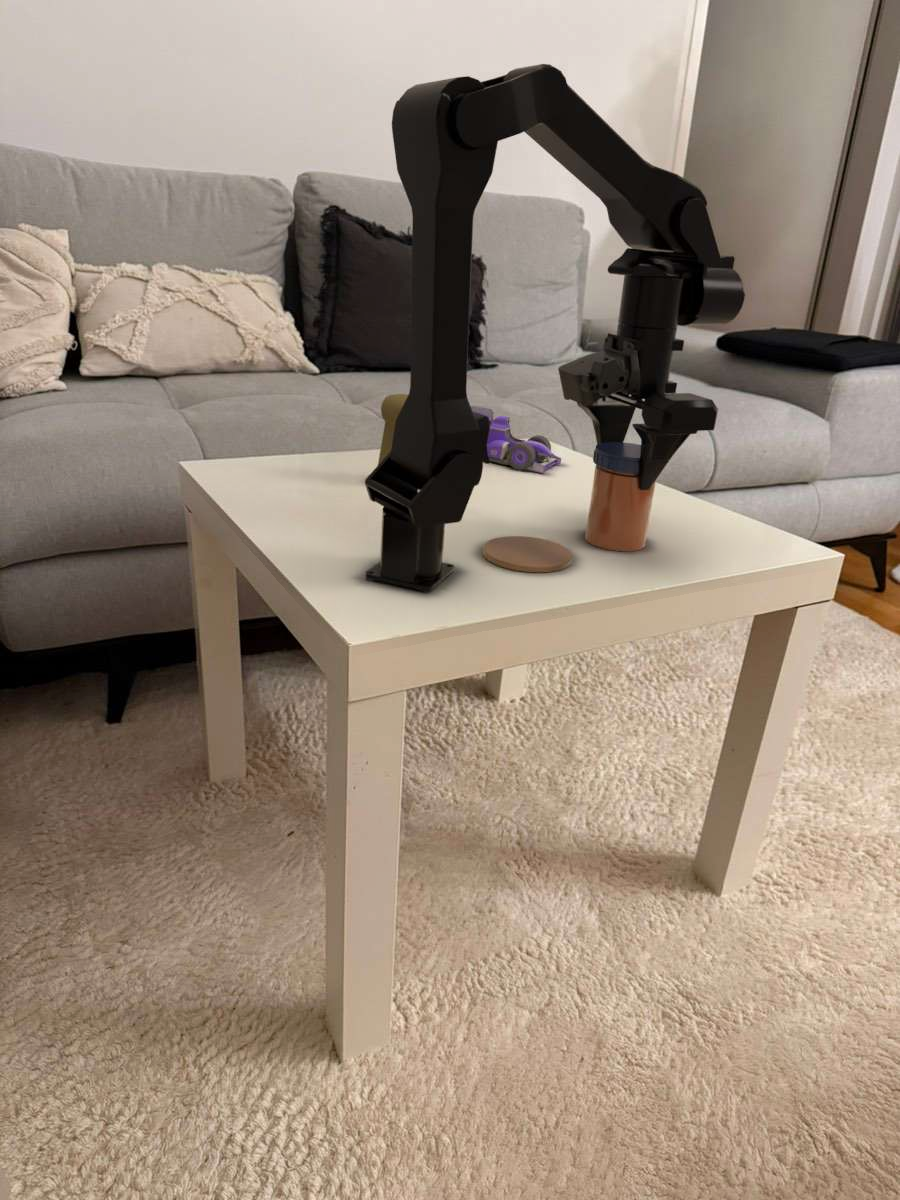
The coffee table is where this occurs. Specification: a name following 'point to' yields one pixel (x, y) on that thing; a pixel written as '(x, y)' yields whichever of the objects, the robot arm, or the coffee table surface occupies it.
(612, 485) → the jar
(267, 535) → the coffee table surface
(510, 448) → the toy race car
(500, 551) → the coaster
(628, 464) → the jar lid
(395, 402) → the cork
